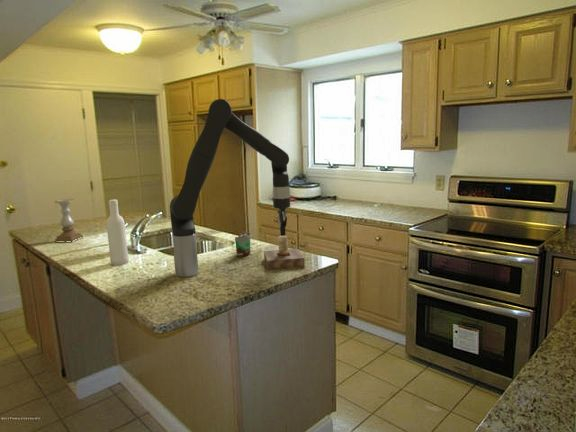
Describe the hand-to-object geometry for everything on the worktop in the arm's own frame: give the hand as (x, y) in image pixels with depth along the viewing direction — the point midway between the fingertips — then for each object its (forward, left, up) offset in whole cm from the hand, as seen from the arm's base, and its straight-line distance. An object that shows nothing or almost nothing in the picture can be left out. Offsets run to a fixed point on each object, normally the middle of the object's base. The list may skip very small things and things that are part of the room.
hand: (282, 235), depth 184 cm
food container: (-16, +19, -13) cm, 28 cm away
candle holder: (-117, +77, -13) cm, 141 cm away
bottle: (-75, +19, -13) cm, 79 cm away
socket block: (0, 0, -13) cm, 13 cm away
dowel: (0, 0, -13) cm, 13 cm away
